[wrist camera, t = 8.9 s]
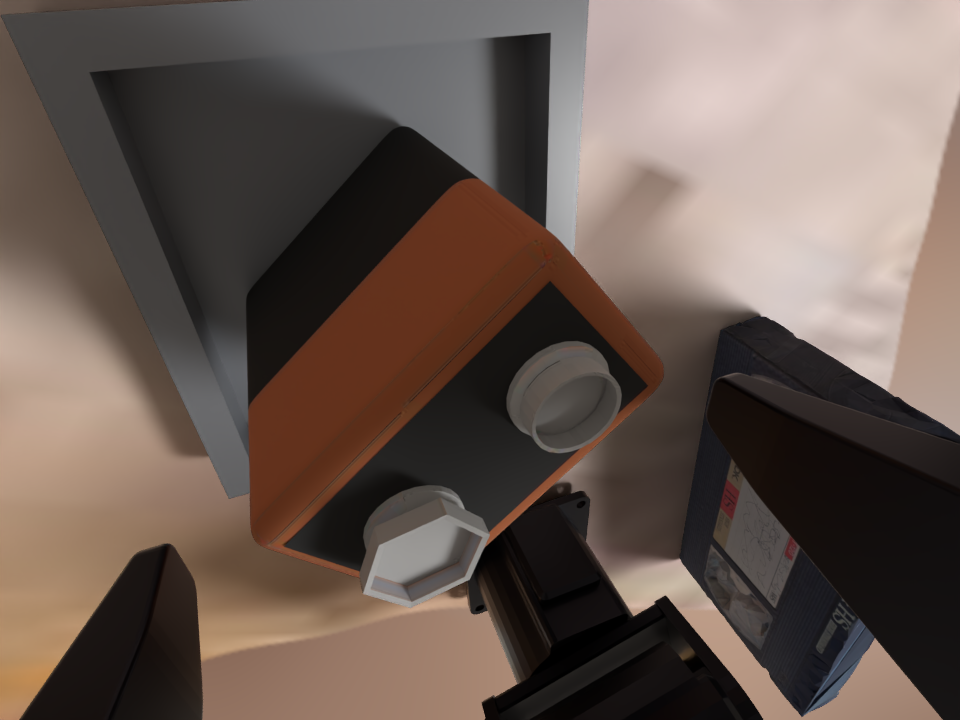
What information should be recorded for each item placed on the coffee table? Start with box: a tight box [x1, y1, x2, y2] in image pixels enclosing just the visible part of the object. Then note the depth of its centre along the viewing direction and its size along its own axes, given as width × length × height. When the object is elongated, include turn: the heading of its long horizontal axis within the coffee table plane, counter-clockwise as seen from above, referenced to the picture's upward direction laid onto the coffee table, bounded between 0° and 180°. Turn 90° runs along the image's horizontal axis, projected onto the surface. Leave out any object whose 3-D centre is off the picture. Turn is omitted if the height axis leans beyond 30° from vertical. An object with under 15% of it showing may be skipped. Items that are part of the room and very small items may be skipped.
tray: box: [1, 0, 589, 499], centre depth 16 cm, size 13×12×2 cm
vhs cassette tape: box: [680, 317, 960, 717], centre depth 26 cm, size 18×3×10 cm, turn 6°
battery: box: [246, 126, 664, 608], centre depth 12 cm, size 4×7×10 cm, turn 132°
